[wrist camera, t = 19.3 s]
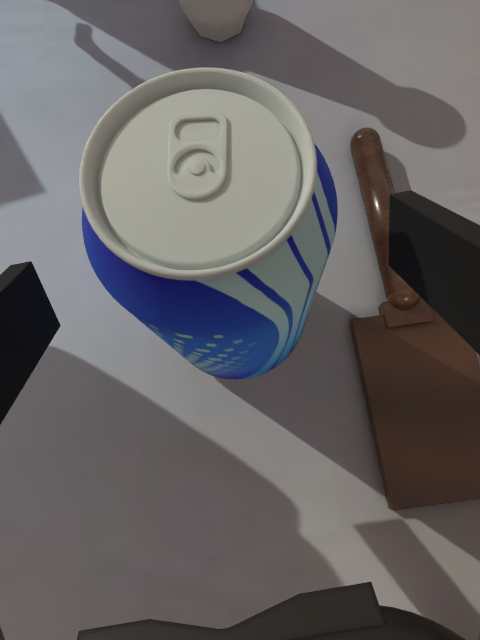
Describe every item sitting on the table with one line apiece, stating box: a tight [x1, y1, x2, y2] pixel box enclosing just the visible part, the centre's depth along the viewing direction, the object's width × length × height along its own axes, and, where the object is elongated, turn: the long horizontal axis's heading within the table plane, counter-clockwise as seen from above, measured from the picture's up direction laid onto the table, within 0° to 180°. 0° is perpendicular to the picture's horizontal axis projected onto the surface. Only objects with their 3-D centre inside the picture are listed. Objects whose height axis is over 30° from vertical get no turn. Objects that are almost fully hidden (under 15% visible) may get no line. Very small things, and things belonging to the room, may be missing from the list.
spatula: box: [349, 128, 480, 510], centre depth 25 cm, size 24×7×2 cm, turn 8°
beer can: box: [79, 67, 337, 379], centre depth 19 cm, size 8×8×16 cm
